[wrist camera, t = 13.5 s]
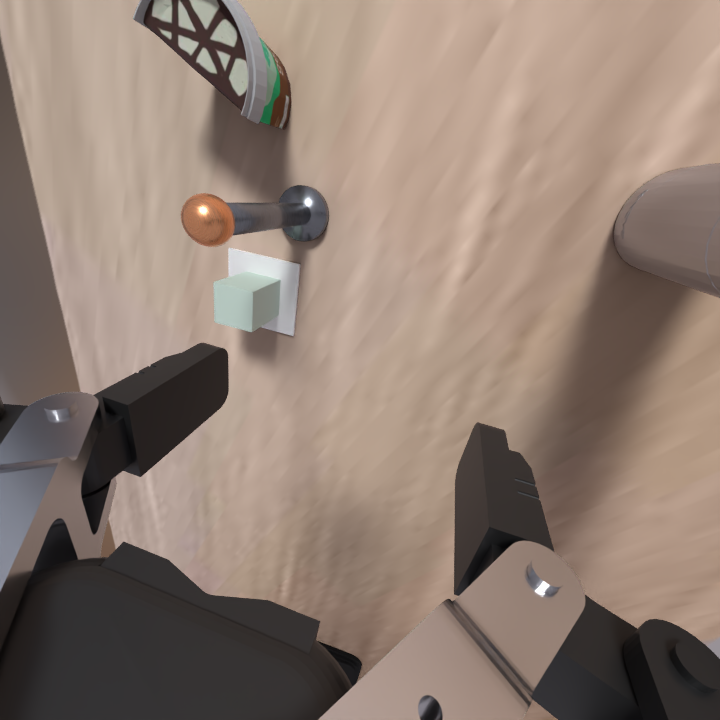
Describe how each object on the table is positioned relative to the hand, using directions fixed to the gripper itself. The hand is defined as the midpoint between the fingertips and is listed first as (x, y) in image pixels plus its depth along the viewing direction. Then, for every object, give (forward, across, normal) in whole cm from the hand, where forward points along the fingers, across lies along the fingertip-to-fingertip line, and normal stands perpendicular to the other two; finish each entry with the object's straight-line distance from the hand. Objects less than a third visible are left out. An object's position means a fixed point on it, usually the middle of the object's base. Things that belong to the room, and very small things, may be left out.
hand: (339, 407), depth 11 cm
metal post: (+33, +15, -2) cm, 36 cm away
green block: (+32, +20, +9) cm, 39 cm away
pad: (+33, +20, +9) cm, 39 cm away
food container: (+33, +21, -15) cm, 42 cm away
